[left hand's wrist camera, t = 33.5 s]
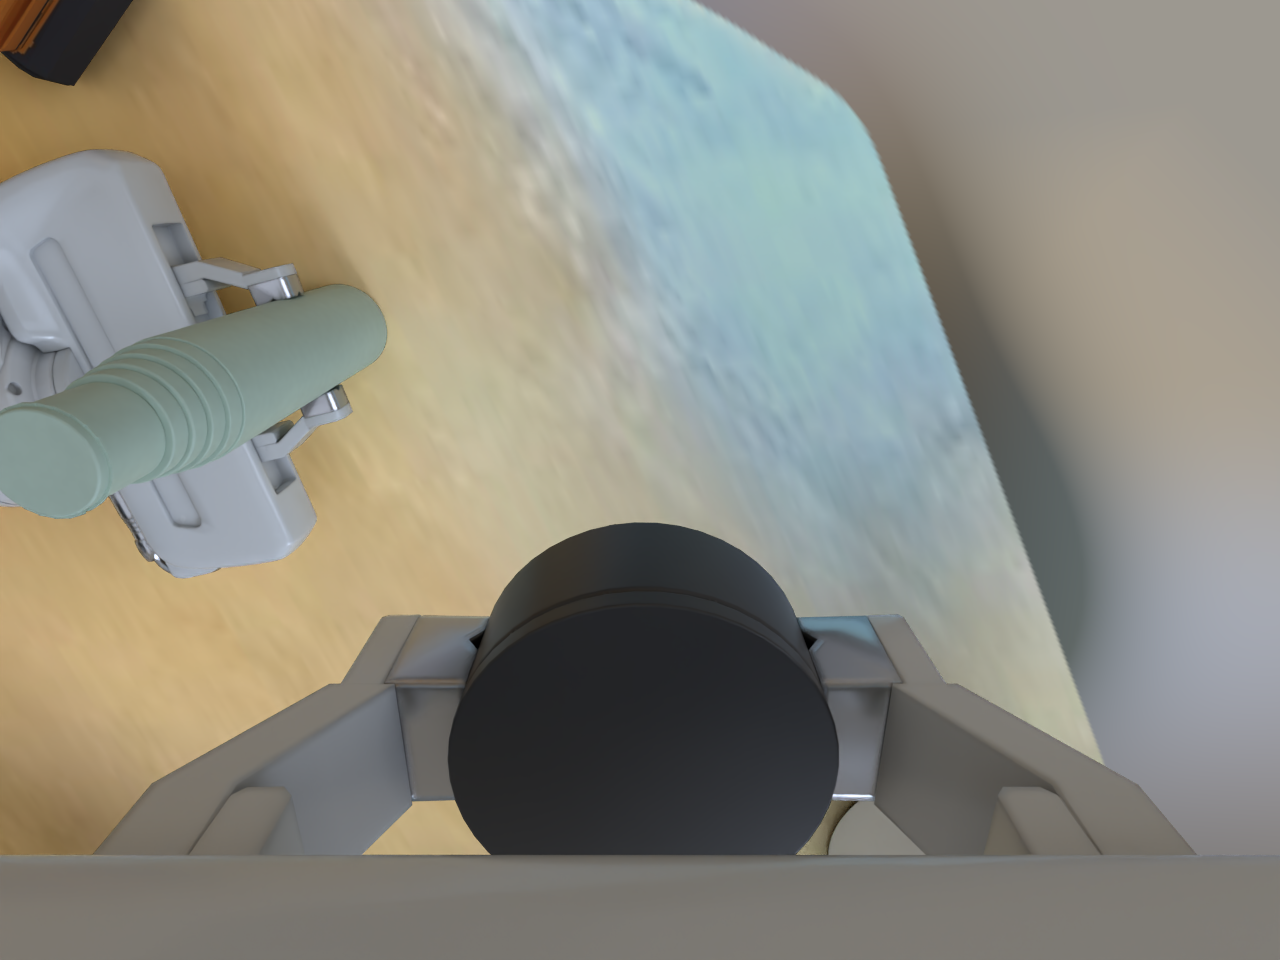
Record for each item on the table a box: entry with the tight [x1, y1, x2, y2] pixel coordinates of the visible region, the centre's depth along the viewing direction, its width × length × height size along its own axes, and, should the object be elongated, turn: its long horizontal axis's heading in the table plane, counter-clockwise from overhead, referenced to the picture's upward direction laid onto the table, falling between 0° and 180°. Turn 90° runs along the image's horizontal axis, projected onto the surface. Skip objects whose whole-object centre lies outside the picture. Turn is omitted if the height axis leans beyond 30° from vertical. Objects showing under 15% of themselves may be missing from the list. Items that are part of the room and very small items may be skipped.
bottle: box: [0, 284, 387, 519], centre depth 30 cm, size 5×5×22 cm
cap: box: [447, 523, 839, 855], centre depth 9 cm, size 4×4×2 cm
